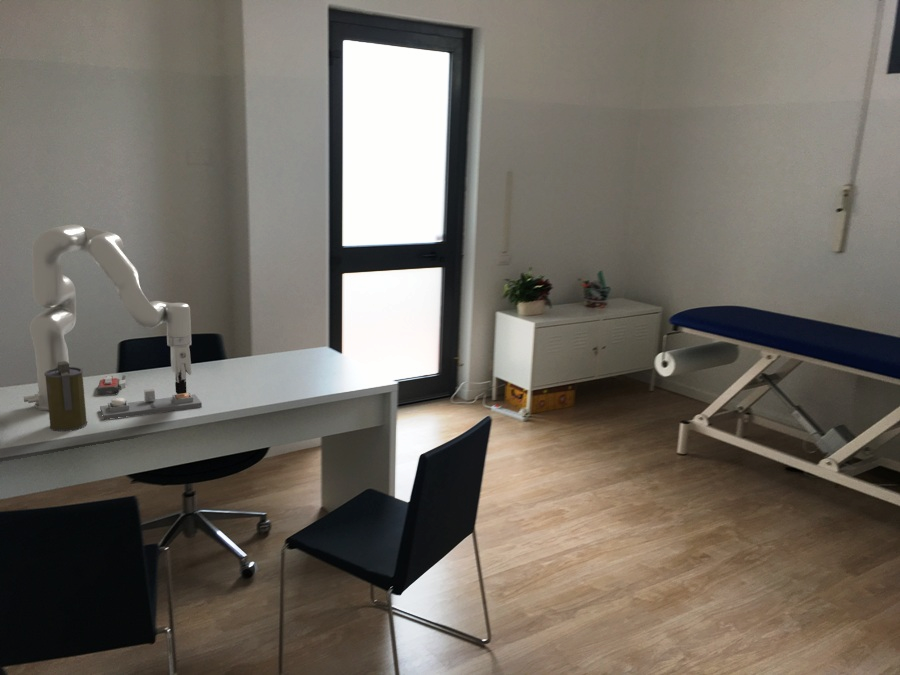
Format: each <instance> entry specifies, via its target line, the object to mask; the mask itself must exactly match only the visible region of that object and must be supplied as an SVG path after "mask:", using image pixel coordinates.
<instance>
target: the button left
mask: <svg viewBox="0 0 900 675" xmlns="http://www.w3.org/2000/svg"><path fill="white" fill-rule="evenodd" d="M125 401H126V399H125V398H124V397H116V398H112V399H111V402H110V403H112V407H118V406H124V405H125Z"/></svg>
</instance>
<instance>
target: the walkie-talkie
mask: <svg viewBox="0 0 900 675" xmlns="http://www.w3.org/2000/svg"><path fill="white" fill-rule="evenodd" d="M97 386H98V387H97V395H98V396H106V395H105V394H110V395H117V394H116V393H118V394H119V393H120V390H119V389H121V390H123V389H125V388H126V386H127V379H126V375H125V374H124V375H122V378H121V379H120V378H117V377H116V378H115V377H113V375H108V376H105V377H104V378H102V379H101V380H99V383H98V385H97ZM122 388H123V389H122ZM102 394H104V395H102Z"/></svg>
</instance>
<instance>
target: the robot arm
mask: <svg viewBox="0 0 900 675" xmlns="http://www.w3.org/2000/svg"><path fill="white" fill-rule="evenodd" d="M124 245H125V244H124V242H123V240H122V238H121V237H120V236H119V235H118V234H116V233H114V232H110V231H106V230H102V229H97V228H94V227H89V226H85V225H80V224H74V223H73V224H66V225H61V226H60V225H59V226H57V227H56V226H55V227H53V228H49V229H47V230H46V231H43V232H42V233H39V235H38V236H37V237H36V238H35V239H34V241H33V243H32V247H31V260H32V273H31V274H32V297H33V300H34V301H33V302H34V303H35V304H36V305H37V306H39V307H40V308H43V309H45V310H44V311H42V312H40V313H39V314H38V313H37V314H36V315H35V317H33V319H32V320H31V322H30V325H29V333H30V338H31V341H32V344H33V349H34V358H35V367H36V376H37V377H36V378H37V386H38V391H37V393H34V395H24V396H23V402H24V403H28V404H31V403H34V408H35V409H37V410H39V411H49V408H48V397H47V387H46V376H45V375H44V373H45V372H46V371H48V370H51V369H55V368H56V367H57V368H58V365H57V363H58V362H63V361H67V362H68V363H69V364H70V360H69V350H68V345H67V343H66V339H65V335H67V334H68V333H69V332H71V331H72V330H73V329H74V327H75V325H76V321H77V295H76V294H77V293H76V287H75V284H74V282H73V281H72V280H71V279H70V278H69V277H68V276H66V275H64V273H63V270H64V266H63V262H62V258H61V257H62V256H63V255H65V254H68V253H69V254H70V253H73V252H76V251H79V252H83V253H87V254H89V256H90V257H91V259H92V260H93V261H94V262H95V264H96V265H97V266H98V267H99V268H100V269H101V271H103V273H104V274H105V276H106V277H107V278H108V279H109V281H110V282H111V284H113V286H114V287H115V291H116V293H117V296H118V298H119V300H120V301H121V304H122V305H123V308H125V310H126V311H127V313H128V314H129V316H131V317H132V319H133V320H134V322H136V323H137V324H138V325H140V327H141V328H143V329H155V328H157V327H158V326H159V325H161V324H163V323H165V324H166V343H167V344H166V345H167V346H168V347H170V367H171V369H172V370H171V371H172V372H173V373H174V376H175V377H174V379H175V380H174V381H175V382H174V384H175V386H174V387H175V394H184V393H187V374H188V375H192V361H191V351H190V346H192V325H191V324H192V323H191V322H192V321H191V307H190V305H189V304H188V303H185V302H167V301H162V300H153V301H149V299H148V298H147V297H146V295H145V294H144V292H143V290H142V288H141V286H140V281H139V279H140V277H139V272H138V269H137V268H136V266H135V265H134V264H133V263H132V262H131V261H130V260H129V258H128V256H126V255H125V253H124V252H123V251H124V248H125V247H124Z"/></svg>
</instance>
